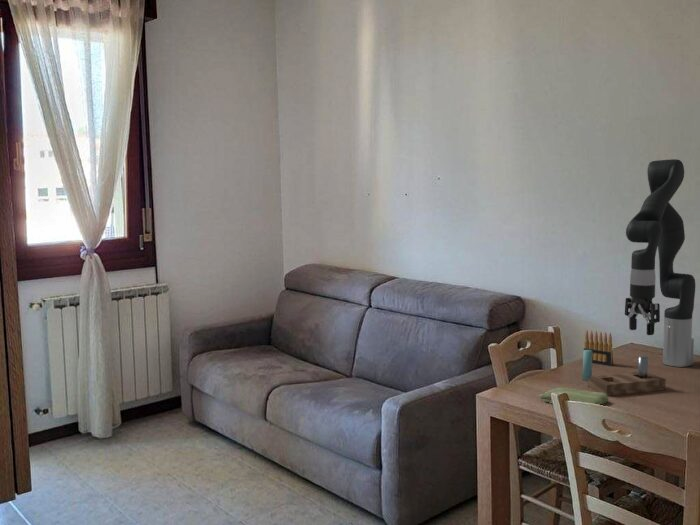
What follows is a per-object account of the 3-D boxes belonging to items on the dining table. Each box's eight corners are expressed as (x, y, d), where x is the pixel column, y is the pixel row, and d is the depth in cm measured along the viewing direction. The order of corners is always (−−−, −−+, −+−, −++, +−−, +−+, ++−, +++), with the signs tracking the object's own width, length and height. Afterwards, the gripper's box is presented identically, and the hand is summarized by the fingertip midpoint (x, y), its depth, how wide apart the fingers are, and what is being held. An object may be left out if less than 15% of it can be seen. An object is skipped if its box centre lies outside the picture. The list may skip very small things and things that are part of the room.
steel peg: (643, 385, 237) (644, 355, 236) (649, 387, 234) (650, 357, 233) (635, 386, 236) (636, 356, 235) (641, 388, 234) (642, 358, 232)
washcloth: (555, 393, 232) (555, 383, 232) (610, 403, 221) (610, 392, 220) (537, 402, 222) (537, 392, 222) (593, 414, 211) (593, 403, 210)
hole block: (645, 381, 241) (645, 371, 241) (665, 389, 232) (665, 379, 231) (588, 387, 236) (588, 376, 236) (606, 395, 226) (606, 385, 226)
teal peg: (588, 378, 247) (589, 349, 245) (593, 380, 244) (594, 351, 243) (580, 378, 246) (581, 350, 245) (585, 381, 243) (586, 352, 242)
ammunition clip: (613, 365, 263) (613, 332, 262) (611, 366, 262) (611, 333, 261) (584, 360, 270) (585, 329, 269) (582, 361, 269) (583, 330, 268)
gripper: (667, 285, 226) (666, 335, 228) (638, 279, 240) (637, 327, 241) (647, 286, 224) (645, 337, 226) (618, 280, 238) (617, 328, 240)
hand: (641, 332), depth 234 cm, fingers open, 8 cm apart
